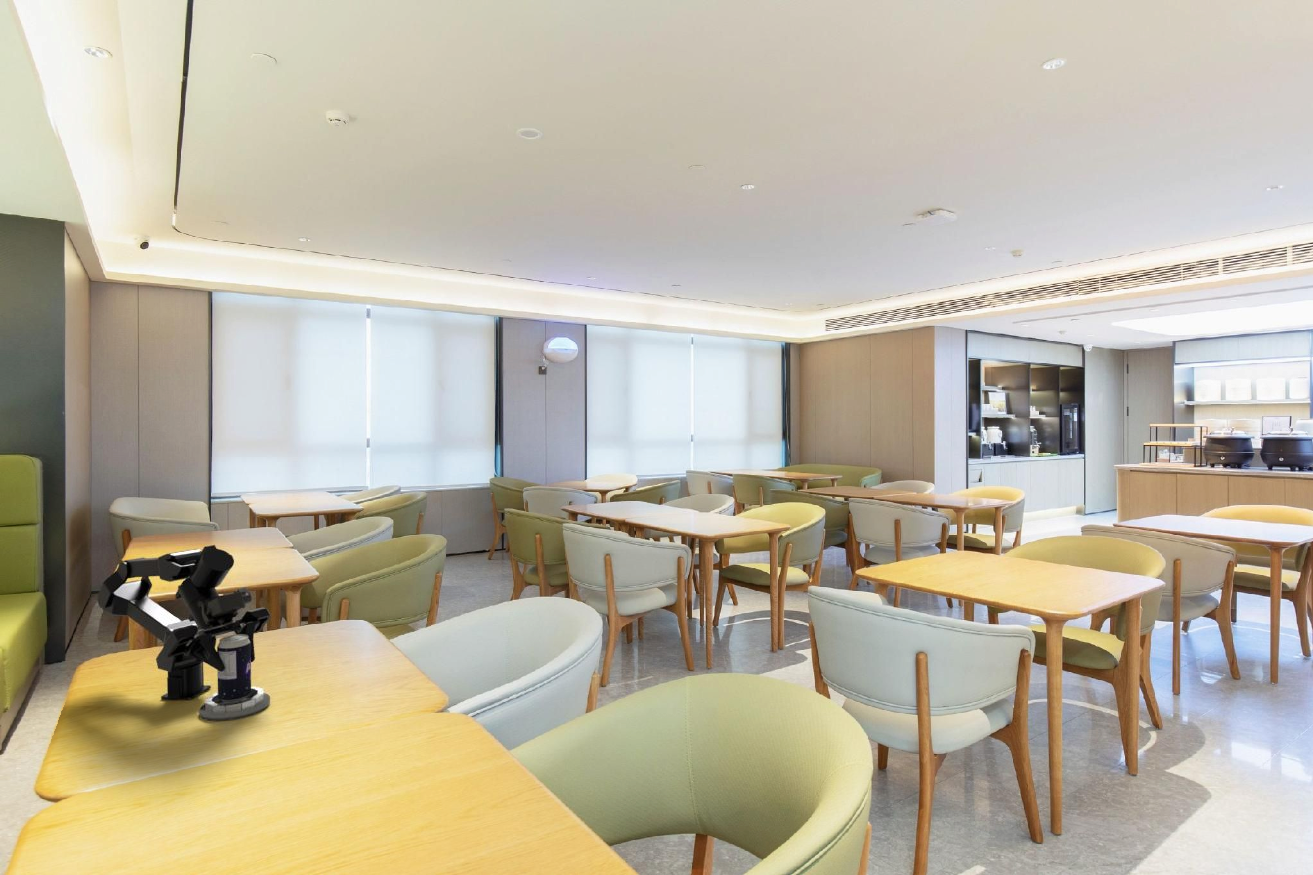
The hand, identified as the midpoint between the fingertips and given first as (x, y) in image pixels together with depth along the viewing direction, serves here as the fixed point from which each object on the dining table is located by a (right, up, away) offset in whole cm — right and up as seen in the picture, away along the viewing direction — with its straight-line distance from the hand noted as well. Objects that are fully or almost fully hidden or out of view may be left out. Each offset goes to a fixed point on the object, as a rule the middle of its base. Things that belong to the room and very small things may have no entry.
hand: (238, 665), depth 142 cm
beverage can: (-1, -7, +1) cm, 7 cm away
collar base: (-1, -9, +1) cm, 9 cm away
